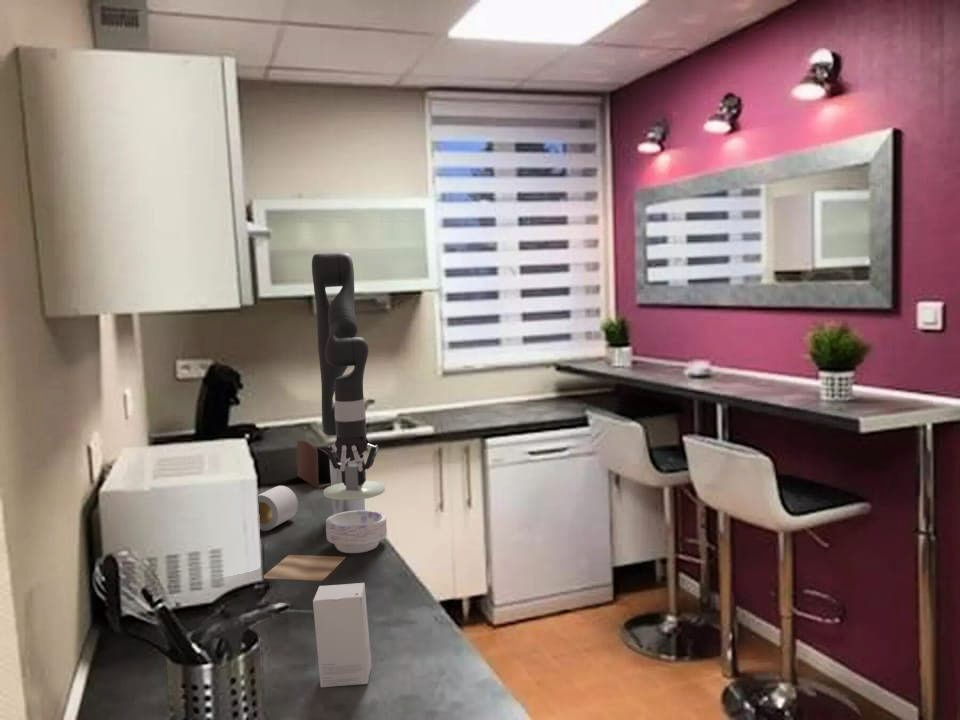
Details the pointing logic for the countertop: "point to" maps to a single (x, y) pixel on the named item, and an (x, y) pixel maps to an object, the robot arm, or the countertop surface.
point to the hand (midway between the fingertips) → (354, 484)
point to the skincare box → (342, 635)
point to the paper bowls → (356, 530)
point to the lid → (353, 487)
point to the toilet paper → (276, 506)
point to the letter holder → (313, 464)
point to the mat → (304, 567)
